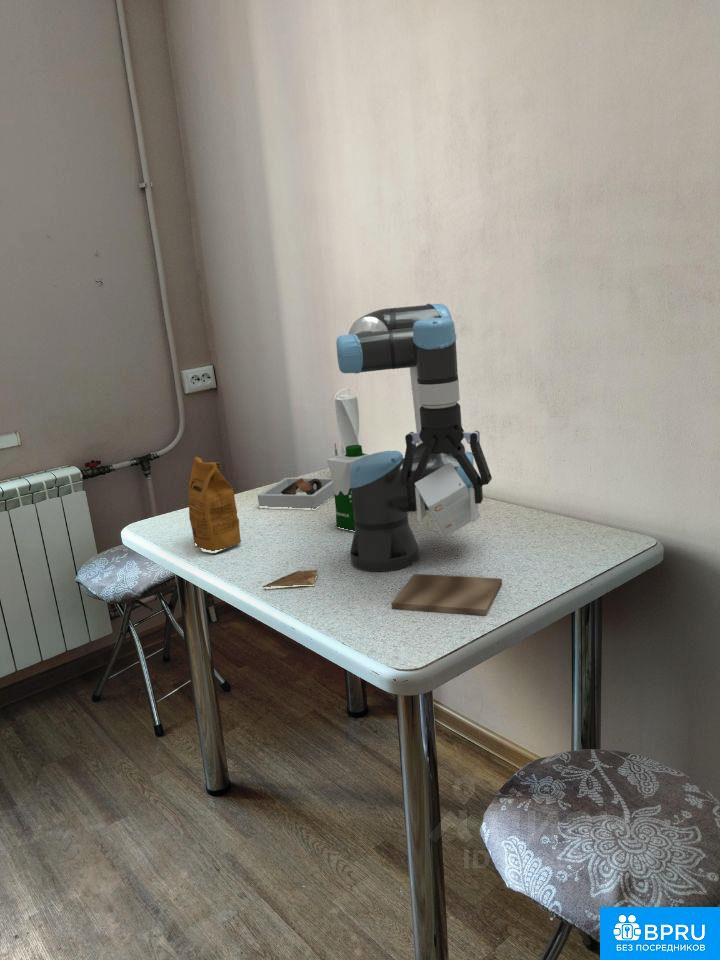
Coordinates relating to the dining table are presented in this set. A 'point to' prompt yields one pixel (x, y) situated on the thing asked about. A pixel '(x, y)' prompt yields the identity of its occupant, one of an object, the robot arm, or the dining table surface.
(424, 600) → the walnut board
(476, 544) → the dining table surface
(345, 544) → the dining table surface
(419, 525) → the dining table surface
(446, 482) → the small box
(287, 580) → the shard
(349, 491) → the milk carton
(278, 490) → the shallow grey tray
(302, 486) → the pottery mug
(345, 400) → the skyscraper
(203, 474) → the coffee package
